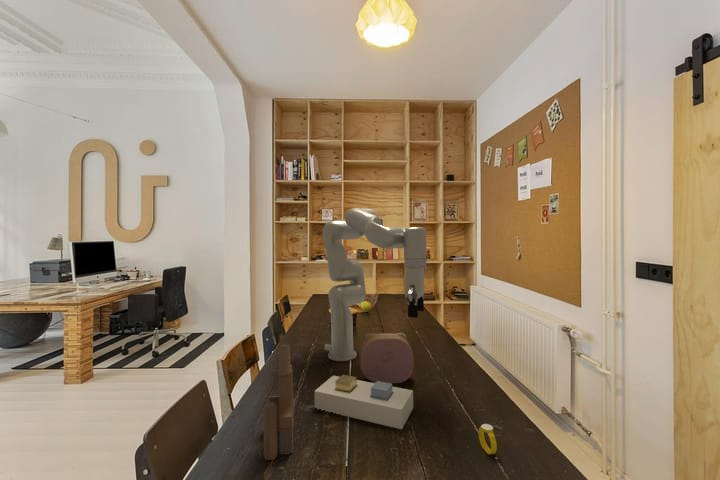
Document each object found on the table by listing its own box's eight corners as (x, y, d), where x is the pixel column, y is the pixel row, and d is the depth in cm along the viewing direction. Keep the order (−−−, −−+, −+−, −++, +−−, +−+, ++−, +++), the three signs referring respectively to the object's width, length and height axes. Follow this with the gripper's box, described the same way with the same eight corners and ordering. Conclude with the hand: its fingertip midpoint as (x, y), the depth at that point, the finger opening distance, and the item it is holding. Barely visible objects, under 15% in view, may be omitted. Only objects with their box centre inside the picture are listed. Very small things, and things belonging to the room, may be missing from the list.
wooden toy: (269, 425, 93) (268, 337, 93) (293, 422, 94) (292, 336, 94) (263, 462, 78) (261, 358, 77) (292, 458, 79) (290, 355, 79)
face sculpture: (411, 375, 124) (411, 331, 124) (415, 383, 117) (414, 337, 117) (359, 377, 124) (358, 333, 123) (359, 385, 117) (359, 339, 116)
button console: (314, 408, 102) (314, 391, 101) (333, 391, 112) (333, 375, 112) (401, 429, 90) (401, 409, 90) (413, 408, 101) (412, 390, 101)
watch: (476, 445, 84) (475, 421, 84) (486, 443, 84) (485, 419, 84) (489, 459, 78) (488, 433, 78) (500, 457, 78) (498, 431, 78)
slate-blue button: (371, 397, 97) (370, 387, 97) (377, 389, 102) (376, 380, 102) (386, 400, 95) (386, 391, 95) (392, 392, 100) (392, 383, 100)
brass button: (335, 389, 102) (335, 381, 102) (342, 383, 107) (342, 374, 107) (349, 392, 100) (349, 383, 100) (356, 385, 105) (356, 377, 105)
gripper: (410, 261, 120) (411, 307, 121) (397, 265, 104) (398, 319, 104) (430, 261, 118) (431, 309, 118) (421, 266, 102) (422, 321, 102)
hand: (416, 313), depth 111 cm, fingers open, 9 cm apart
